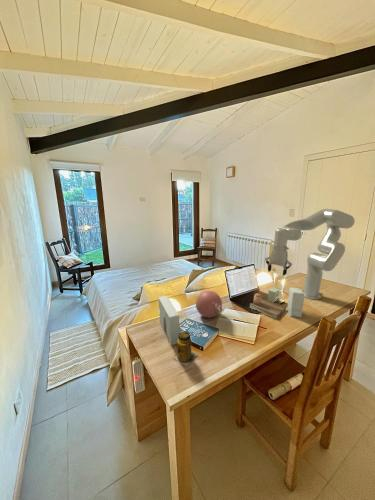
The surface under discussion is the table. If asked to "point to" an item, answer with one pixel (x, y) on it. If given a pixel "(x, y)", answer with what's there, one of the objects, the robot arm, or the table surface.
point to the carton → (273, 294)
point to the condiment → (184, 349)
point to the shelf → (269, 308)
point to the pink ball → (209, 304)
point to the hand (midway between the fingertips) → (276, 272)
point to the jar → (257, 299)
